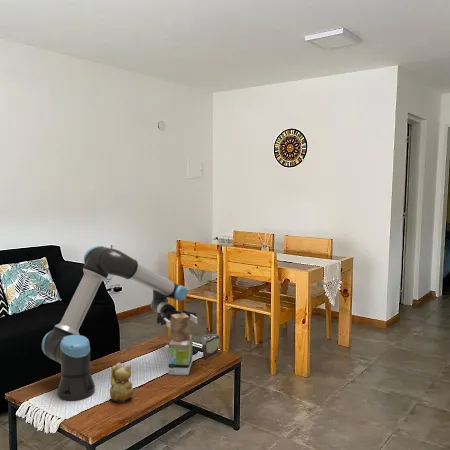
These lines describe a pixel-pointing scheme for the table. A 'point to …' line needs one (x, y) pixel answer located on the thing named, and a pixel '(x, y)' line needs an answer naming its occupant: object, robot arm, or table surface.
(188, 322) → the walnut block
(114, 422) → the table surface
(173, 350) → the tea box
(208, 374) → the table surface
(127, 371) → the decorative figurine
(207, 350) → the food container
